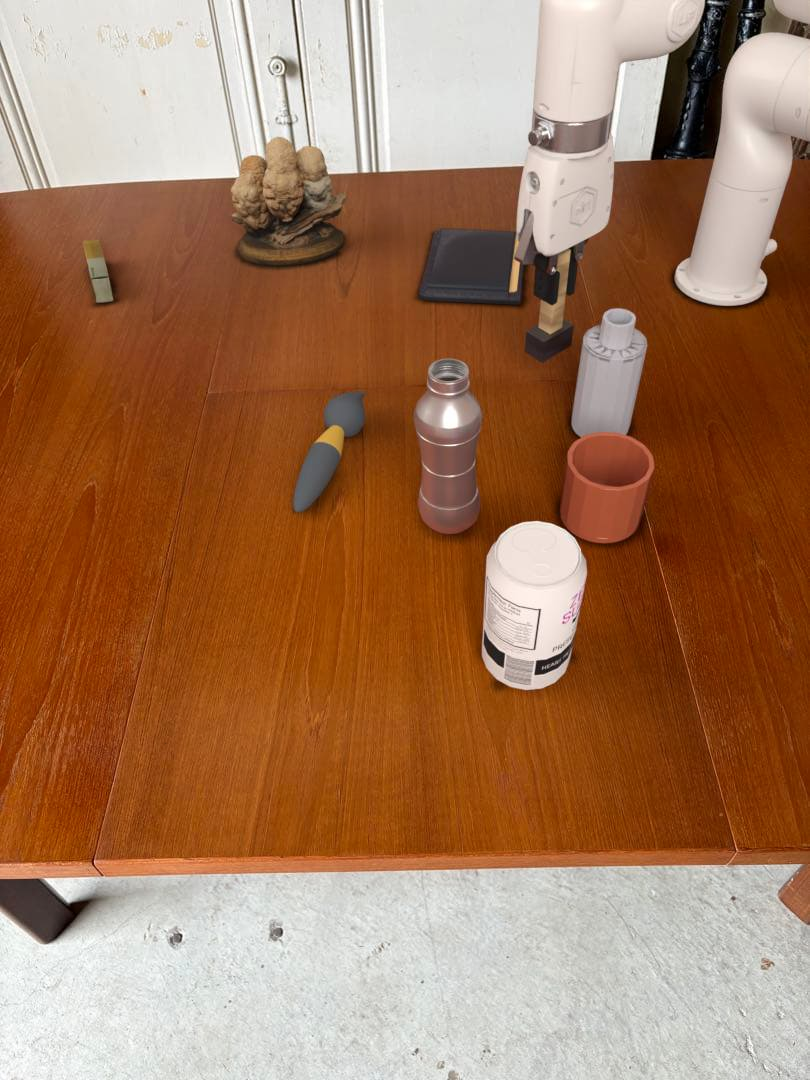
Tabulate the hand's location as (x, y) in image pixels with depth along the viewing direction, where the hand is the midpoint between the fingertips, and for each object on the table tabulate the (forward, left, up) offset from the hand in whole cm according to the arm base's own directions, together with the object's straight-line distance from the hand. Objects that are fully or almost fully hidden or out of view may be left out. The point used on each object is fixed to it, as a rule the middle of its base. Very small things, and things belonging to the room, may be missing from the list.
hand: (553, 293), depth 93 cm
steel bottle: (0, +9, -14) cm, 17 cm away
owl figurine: (+4, -52, -14) cm, 54 cm away
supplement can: (+30, +27, -14) cm, 43 cm away
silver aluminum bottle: (+24, +9, -14) cm, 29 cm away
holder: (+11, +19, -14) cm, 26 cm away
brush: (0, 0, -8) cm, 8 cm away
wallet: (-13, -28, -14) cm, 34 cm away
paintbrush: (+28, -7, -14) cm, 32 cm away
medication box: (+32, -63, -14) cm, 72 cm away
